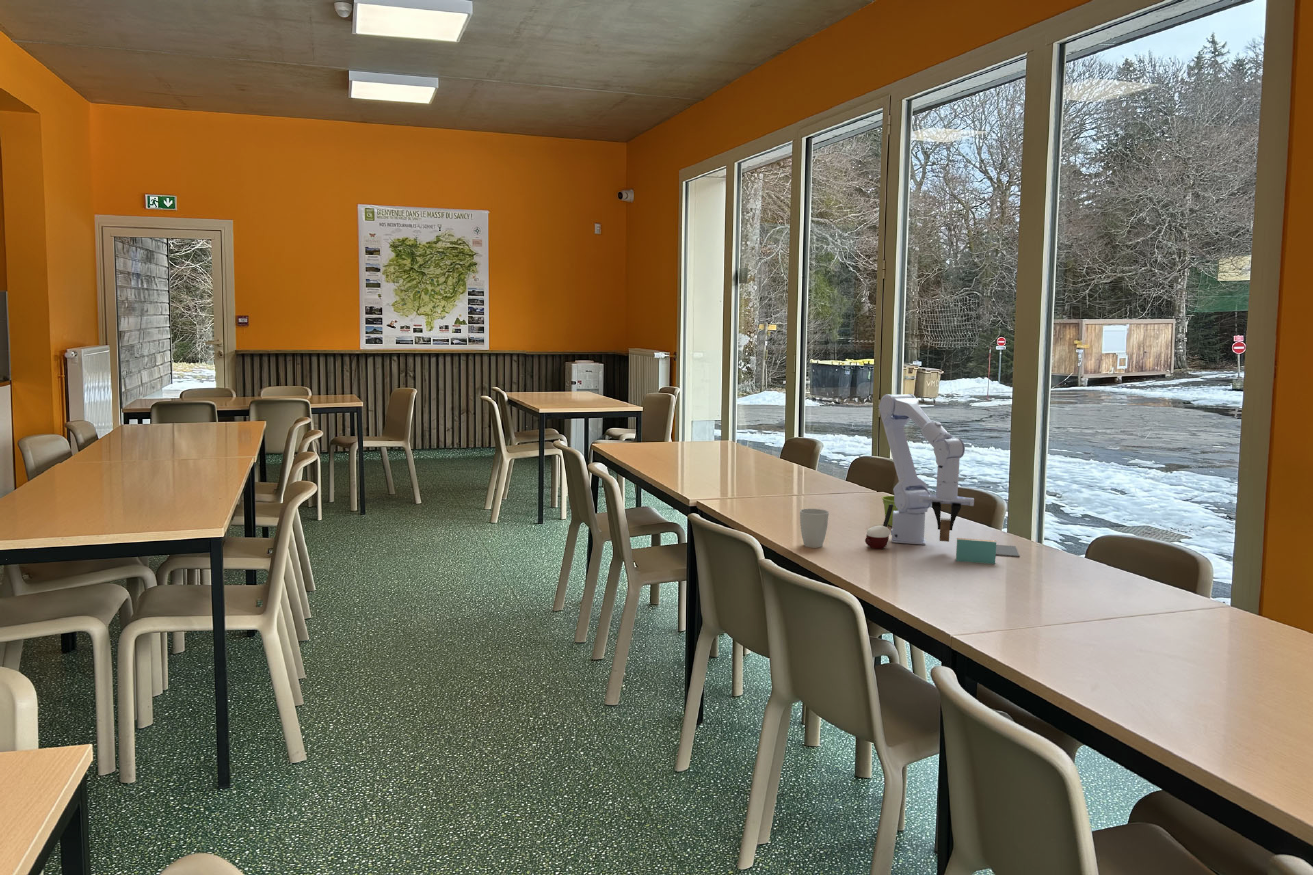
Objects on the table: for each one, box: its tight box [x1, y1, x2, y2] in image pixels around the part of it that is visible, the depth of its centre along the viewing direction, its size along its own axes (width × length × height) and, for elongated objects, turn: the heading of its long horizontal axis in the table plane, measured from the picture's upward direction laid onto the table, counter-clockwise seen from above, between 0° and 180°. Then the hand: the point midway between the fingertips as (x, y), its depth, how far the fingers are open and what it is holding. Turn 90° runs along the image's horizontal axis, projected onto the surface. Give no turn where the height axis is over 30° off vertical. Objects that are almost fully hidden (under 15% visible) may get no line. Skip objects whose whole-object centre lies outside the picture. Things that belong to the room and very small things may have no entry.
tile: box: [955, 537, 997, 565], centre depth 256 cm, size 10×2×6 cm, turn 74°
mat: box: [996, 544, 1020, 558], centre depth 269 cm, size 12×12×1 cm
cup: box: [799, 508, 830, 549], centre depth 271 cm, size 8×8×10 cm
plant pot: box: [881, 495, 898, 527], centre depth 300 cm, size 9×9×9 cm
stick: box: [939, 517, 951, 542], centre depth 265 cm, size 2×2×6 cm
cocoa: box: [864, 504, 893, 550], centre depth 270 cm, size 10×6×12 cm, turn 98°
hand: (944, 529), depth 265 cm, fingers closed on stick, 2 cm apart
